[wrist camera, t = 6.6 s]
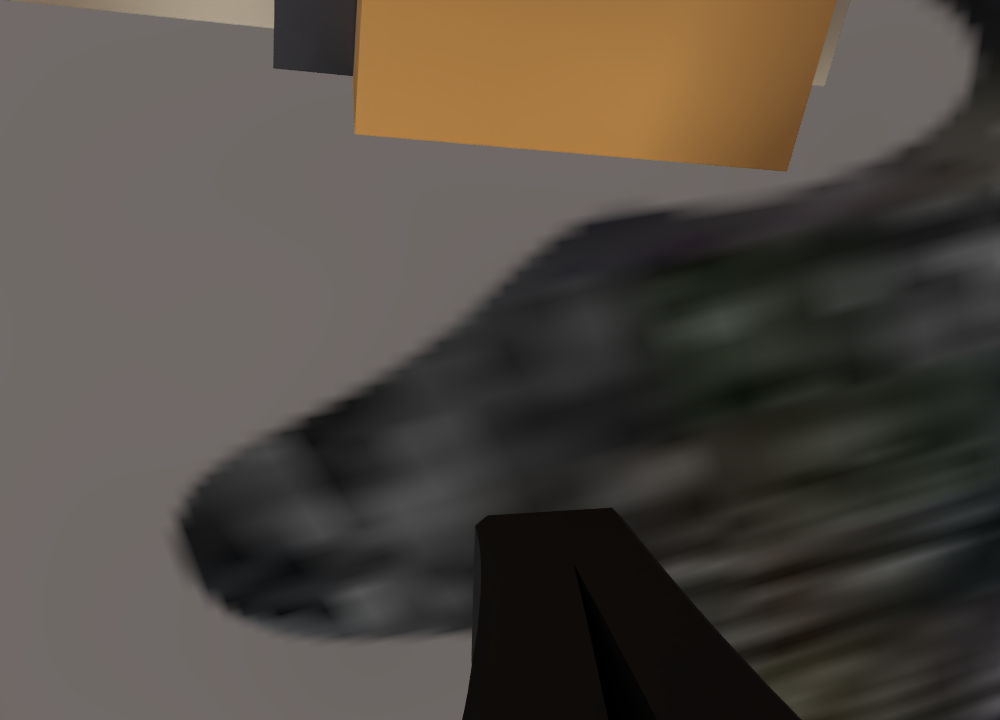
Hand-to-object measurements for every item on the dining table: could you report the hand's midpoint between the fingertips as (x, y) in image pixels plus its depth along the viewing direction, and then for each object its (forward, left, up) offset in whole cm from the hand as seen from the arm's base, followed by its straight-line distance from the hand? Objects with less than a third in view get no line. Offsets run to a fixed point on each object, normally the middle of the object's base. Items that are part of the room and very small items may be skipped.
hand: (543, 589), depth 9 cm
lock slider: (0, +5, -3) cm, 6 cm away
